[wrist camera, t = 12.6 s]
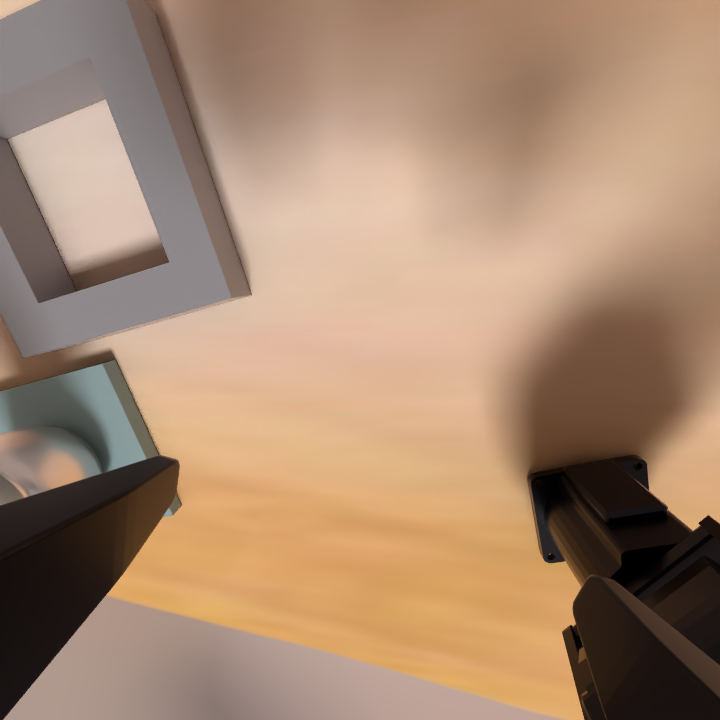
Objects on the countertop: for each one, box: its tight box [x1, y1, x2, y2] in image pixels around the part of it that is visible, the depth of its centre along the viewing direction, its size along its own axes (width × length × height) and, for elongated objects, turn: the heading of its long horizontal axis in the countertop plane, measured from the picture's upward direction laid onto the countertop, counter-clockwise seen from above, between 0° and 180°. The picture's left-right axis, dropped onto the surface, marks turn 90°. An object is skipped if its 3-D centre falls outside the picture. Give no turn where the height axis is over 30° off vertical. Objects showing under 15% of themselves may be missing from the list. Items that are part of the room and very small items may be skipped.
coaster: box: [0, 360, 182, 517], centre depth 22 cm, size 11×11×1 cm
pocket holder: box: [0, 0, 251, 358], centre depth 17 cm, size 14×13×2 cm
